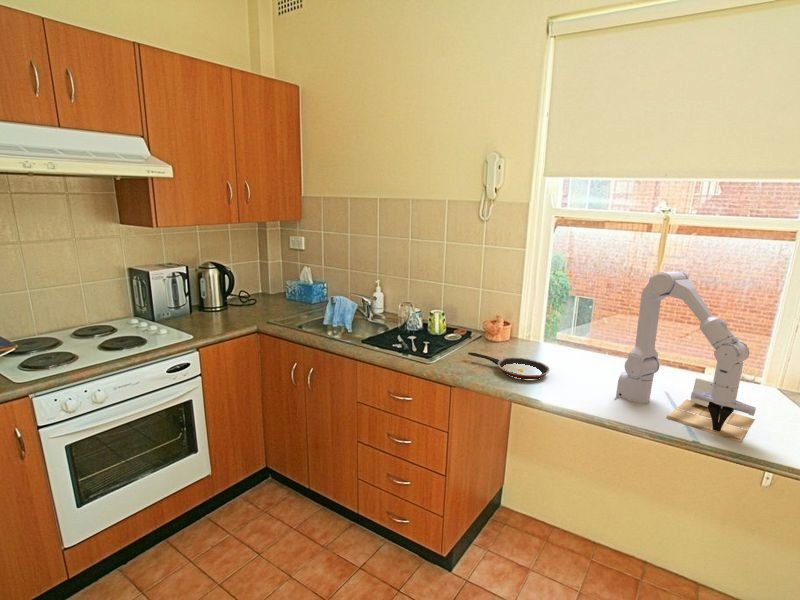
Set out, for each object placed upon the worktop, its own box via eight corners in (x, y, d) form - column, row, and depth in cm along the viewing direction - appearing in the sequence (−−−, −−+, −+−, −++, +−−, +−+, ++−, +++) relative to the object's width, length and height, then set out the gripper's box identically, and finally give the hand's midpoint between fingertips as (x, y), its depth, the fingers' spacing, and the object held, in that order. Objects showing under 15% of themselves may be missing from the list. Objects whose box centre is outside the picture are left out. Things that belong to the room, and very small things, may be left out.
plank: (665, 419, 132) (666, 416, 132) (675, 411, 139) (676, 408, 139) (739, 444, 119) (740, 440, 119) (747, 434, 126) (748, 430, 126)
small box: (711, 379, 146) (695, 377, 141) (730, 384, 142) (715, 382, 136) (705, 403, 147) (689, 401, 141) (724, 409, 142) (708, 407, 136)
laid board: (676, 411, 139) (677, 407, 139) (685, 402, 146) (686, 399, 146) (747, 434, 127) (748, 429, 126) (754, 423, 133) (755, 419, 133)
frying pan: (540, 388, 154) (541, 378, 154) (457, 367, 172) (457, 358, 171) (554, 372, 170) (555, 363, 169) (477, 354, 187) (478, 346, 186)
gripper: (761, 389, 120) (751, 435, 123) (699, 373, 130) (691, 416, 133) (756, 396, 115) (746, 443, 118) (692, 379, 125) (684, 423, 128)
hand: (716, 429), depth 125 cm, fingers closed, pressing on plank
